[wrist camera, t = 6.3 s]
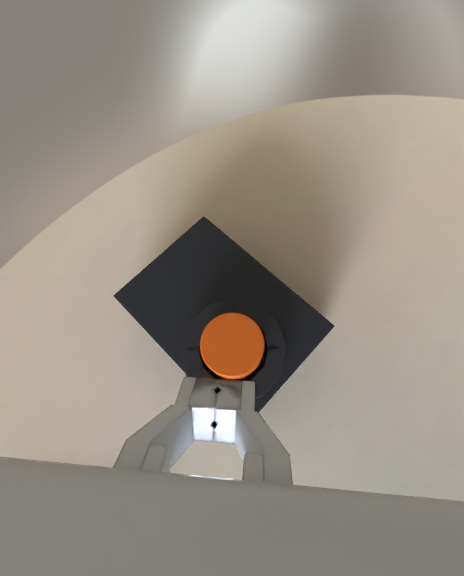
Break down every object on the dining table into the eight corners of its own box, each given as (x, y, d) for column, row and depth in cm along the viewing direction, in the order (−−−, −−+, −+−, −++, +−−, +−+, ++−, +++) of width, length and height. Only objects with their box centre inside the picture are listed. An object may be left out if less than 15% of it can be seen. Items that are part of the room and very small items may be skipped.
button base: (137, 314, 29) (102, 287, 22) (211, 247, 31) (200, 203, 24) (242, 425, 25) (240, 435, 18) (317, 340, 28) (341, 319, 20)
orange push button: (192, 349, 21) (186, 344, 19) (232, 308, 22) (231, 299, 20) (234, 392, 20) (232, 392, 18) (275, 348, 20) (278, 342, 18)
